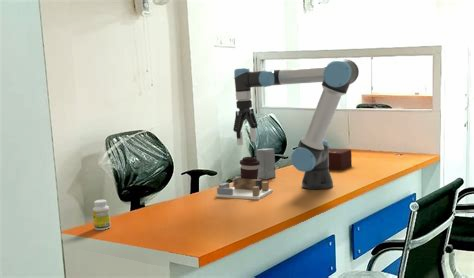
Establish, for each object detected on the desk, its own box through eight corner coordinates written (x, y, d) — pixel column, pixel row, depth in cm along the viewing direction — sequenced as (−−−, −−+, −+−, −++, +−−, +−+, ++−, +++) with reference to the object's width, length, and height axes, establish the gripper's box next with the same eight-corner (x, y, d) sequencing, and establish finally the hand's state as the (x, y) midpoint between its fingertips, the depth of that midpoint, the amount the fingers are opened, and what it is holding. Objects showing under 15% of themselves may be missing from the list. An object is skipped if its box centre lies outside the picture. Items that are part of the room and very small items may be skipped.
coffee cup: (257, 190, 272) (258, 160, 270) (237, 189, 273) (238, 159, 271) (259, 185, 282) (260, 156, 279) (240, 184, 283) (241, 155, 281)
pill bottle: (95, 226, 221) (93, 199, 219) (111, 225, 221) (109, 198, 220) (93, 231, 214) (90, 203, 213) (109, 230, 215) (107, 202, 214)
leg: (234, 188, 271) (233, 178, 271) (237, 187, 274) (236, 177, 273) (259, 190, 265) (259, 179, 265) (262, 188, 268) (261, 178, 267)
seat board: (272, 191, 266) (272, 181, 266) (259, 199, 252) (258, 188, 252) (231, 189, 276) (230, 179, 275) (216, 196, 262) (215, 185, 261)
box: (352, 165, 324) (352, 148, 323) (341, 170, 311) (340, 153, 310) (320, 163, 336) (319, 147, 335) (307, 168, 323) (307, 151, 321)
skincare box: (265, 179, 295) (264, 150, 293) (256, 178, 301) (255, 149, 299) (276, 177, 301) (275, 148, 299) (267, 175, 306) (266, 147, 304)
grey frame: (239, 187, 283) (239, 176, 282) (233, 186, 285) (232, 176, 284) (246, 184, 288) (245, 174, 287) (239, 183, 290) (239, 173, 289)
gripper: (249, 98, 284) (252, 139, 286) (224, 102, 263) (227, 146, 265) (262, 97, 280) (265, 139, 283) (237, 101, 259) (241, 146, 261)
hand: (247, 143), depth 274 cm, fingers open, 13 cm apart
